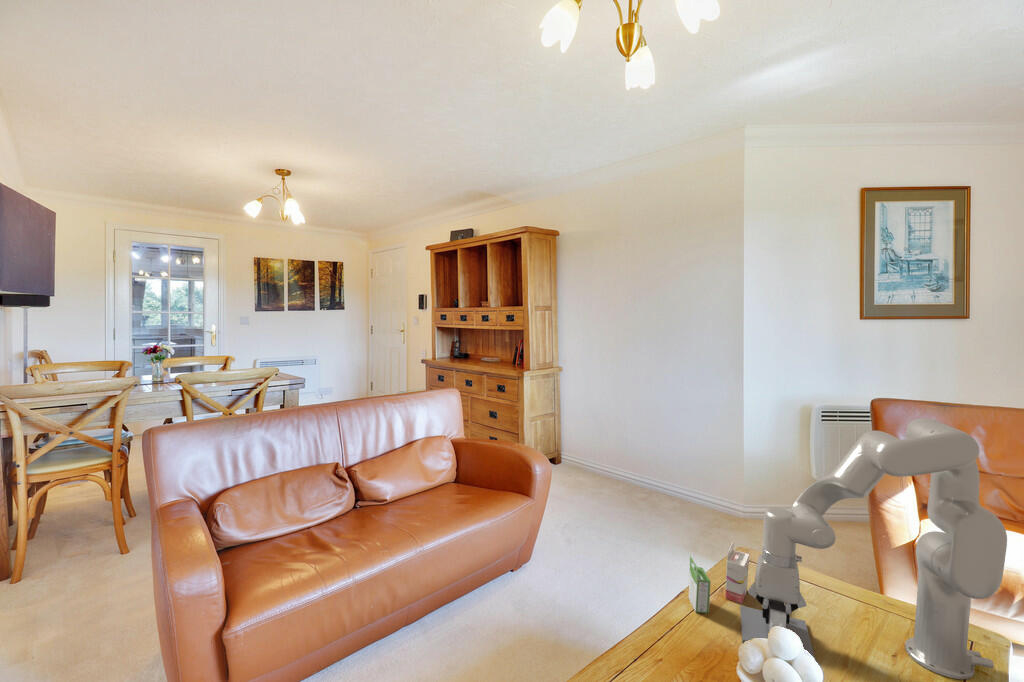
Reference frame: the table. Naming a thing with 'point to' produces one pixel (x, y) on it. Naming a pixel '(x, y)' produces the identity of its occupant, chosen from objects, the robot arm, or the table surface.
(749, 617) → the pin tray
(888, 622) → the table surface
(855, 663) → the table surface
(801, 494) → the robot arm
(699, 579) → the ink box
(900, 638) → the table surface
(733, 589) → the ink cartridge box
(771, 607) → the block
